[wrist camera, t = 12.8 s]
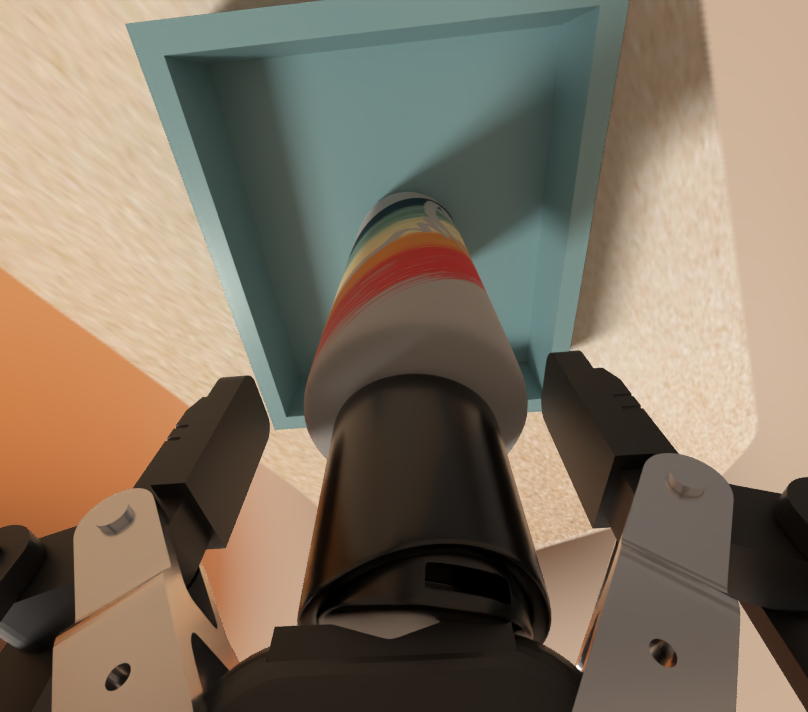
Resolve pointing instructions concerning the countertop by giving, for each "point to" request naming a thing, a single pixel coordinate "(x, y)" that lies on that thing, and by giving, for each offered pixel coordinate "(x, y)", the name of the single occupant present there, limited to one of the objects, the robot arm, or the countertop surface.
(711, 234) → the countertop surface
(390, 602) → the lotion bottle
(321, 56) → the tray
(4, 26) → the countertop surface
